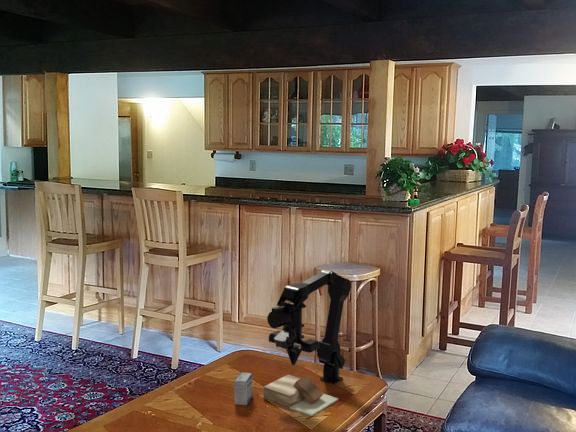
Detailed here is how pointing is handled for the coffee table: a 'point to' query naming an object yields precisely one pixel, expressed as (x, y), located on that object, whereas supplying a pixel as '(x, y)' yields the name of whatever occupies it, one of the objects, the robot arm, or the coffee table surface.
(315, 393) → the walnut tile
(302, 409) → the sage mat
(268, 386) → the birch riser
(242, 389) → the medicine box
